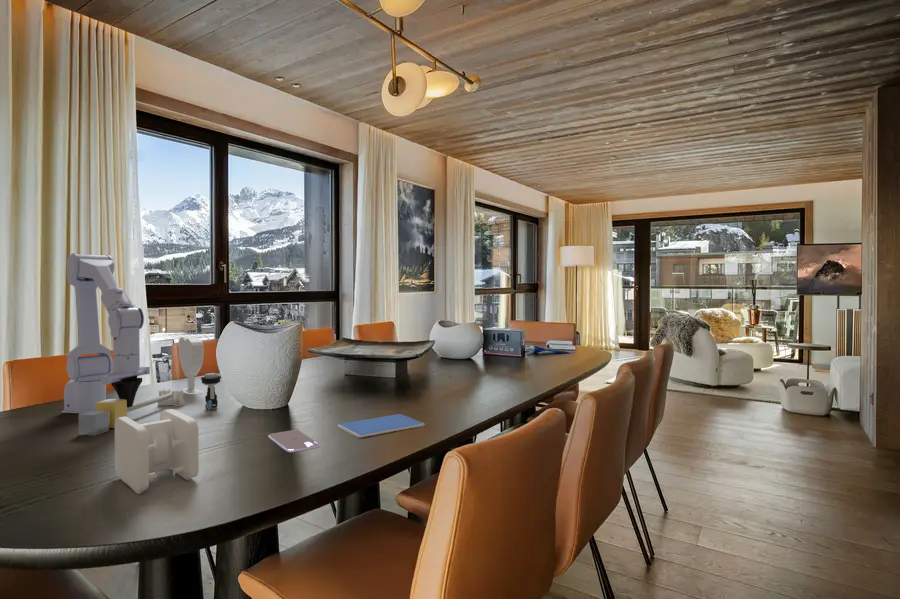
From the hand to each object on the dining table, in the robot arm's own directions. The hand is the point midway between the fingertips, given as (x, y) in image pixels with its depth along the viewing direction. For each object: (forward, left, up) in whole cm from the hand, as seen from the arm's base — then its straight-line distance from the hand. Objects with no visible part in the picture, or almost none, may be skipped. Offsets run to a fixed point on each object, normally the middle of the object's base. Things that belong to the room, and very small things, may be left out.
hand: (127, 406), depth 132 cm
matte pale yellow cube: (-2, -3, -4) cm, 6 cm away
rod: (-2, +7, -2) cm, 7 cm away
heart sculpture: (-8, +39, -4) cm, 40 cm away
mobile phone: (+48, -8, -5) cm, 49 cm away
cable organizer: (+32, -33, -5) cm, 47 cm away
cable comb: (-2, +20, -4) cm, 20 cm away
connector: (-2, -9, -4) cm, 10 cm away
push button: (+12, +18, -4) cm, 22 cm away
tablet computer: (+65, +7, -5) cm, 66 cm away
